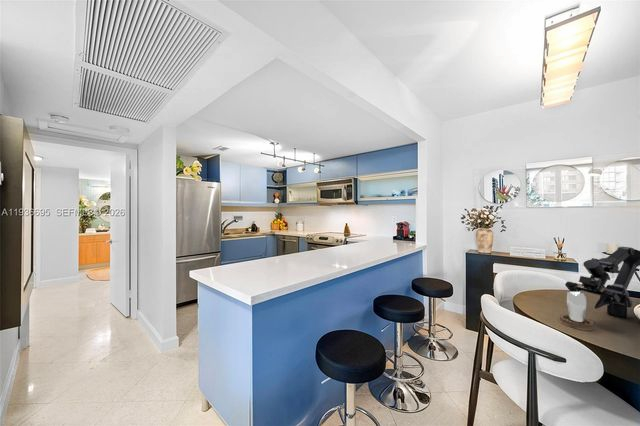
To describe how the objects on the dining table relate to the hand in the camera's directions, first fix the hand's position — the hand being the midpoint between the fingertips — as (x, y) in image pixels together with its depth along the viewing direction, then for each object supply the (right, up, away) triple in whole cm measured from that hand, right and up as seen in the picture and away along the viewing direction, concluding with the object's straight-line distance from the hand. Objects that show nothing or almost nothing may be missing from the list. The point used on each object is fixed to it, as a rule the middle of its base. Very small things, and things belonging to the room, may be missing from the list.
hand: (583, 304), depth 124 cm
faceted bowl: (-5, -9, -1) cm, 11 cm away
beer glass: (-5, -9, -1) cm, 10 cm away
